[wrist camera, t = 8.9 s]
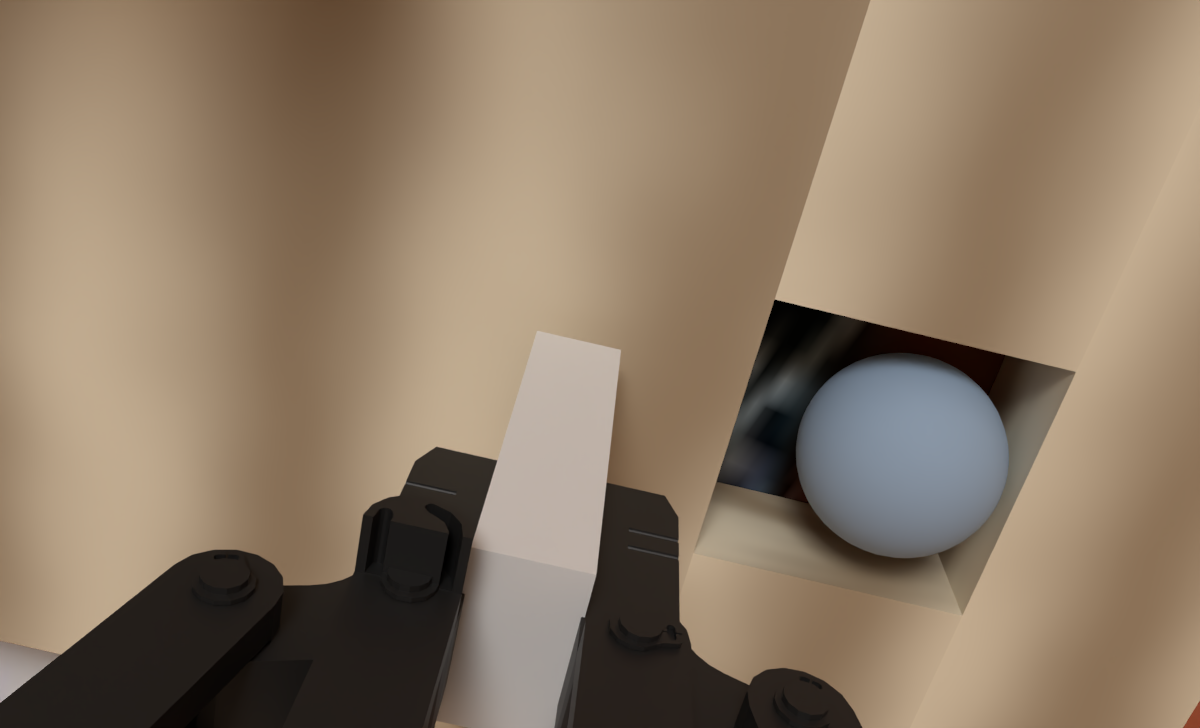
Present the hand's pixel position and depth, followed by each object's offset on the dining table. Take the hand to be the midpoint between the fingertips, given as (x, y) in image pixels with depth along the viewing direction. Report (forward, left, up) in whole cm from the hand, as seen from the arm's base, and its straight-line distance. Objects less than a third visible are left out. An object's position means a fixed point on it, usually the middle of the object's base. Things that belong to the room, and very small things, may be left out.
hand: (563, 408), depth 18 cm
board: (0, 0, -4) cm, 4 cm away
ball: (+7, 0, -2) cm, 7 cm away
